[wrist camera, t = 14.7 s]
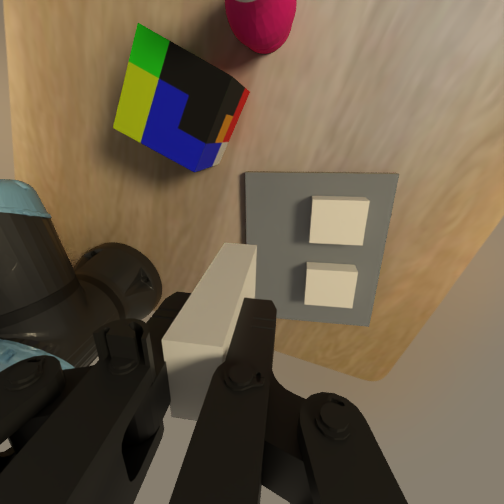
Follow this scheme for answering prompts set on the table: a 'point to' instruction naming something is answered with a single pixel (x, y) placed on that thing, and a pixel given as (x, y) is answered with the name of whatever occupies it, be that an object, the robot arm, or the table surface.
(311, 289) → the tile
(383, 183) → the slate board
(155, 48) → the puzzle toy
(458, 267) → the table surface
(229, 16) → the pepper mill
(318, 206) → the tile
